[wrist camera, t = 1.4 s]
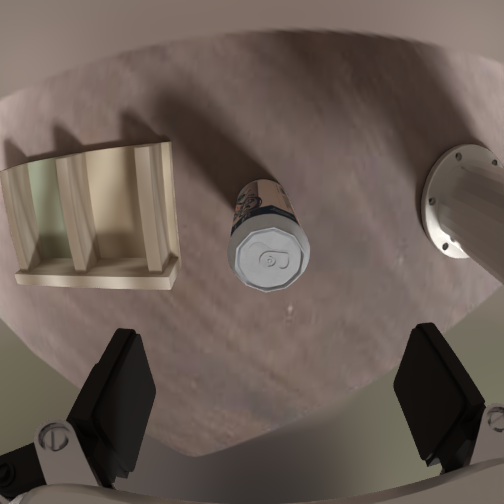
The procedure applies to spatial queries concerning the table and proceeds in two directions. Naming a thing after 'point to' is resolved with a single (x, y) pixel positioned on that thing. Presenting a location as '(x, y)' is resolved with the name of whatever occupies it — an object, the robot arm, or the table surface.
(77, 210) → the comb rack
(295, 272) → the beer can
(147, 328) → the table surface
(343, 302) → the table surface
